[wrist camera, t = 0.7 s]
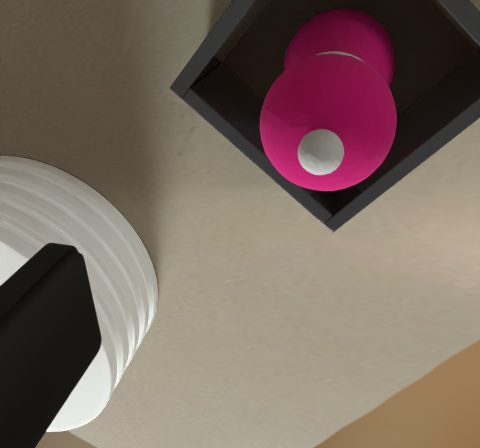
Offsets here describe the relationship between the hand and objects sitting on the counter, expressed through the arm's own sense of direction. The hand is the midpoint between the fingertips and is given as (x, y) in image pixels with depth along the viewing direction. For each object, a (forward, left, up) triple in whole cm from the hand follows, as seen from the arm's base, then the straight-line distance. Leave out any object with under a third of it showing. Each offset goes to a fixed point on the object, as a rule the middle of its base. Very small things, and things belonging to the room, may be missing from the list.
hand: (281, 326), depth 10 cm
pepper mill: (0, 0, -29) cm, 29 cm away
